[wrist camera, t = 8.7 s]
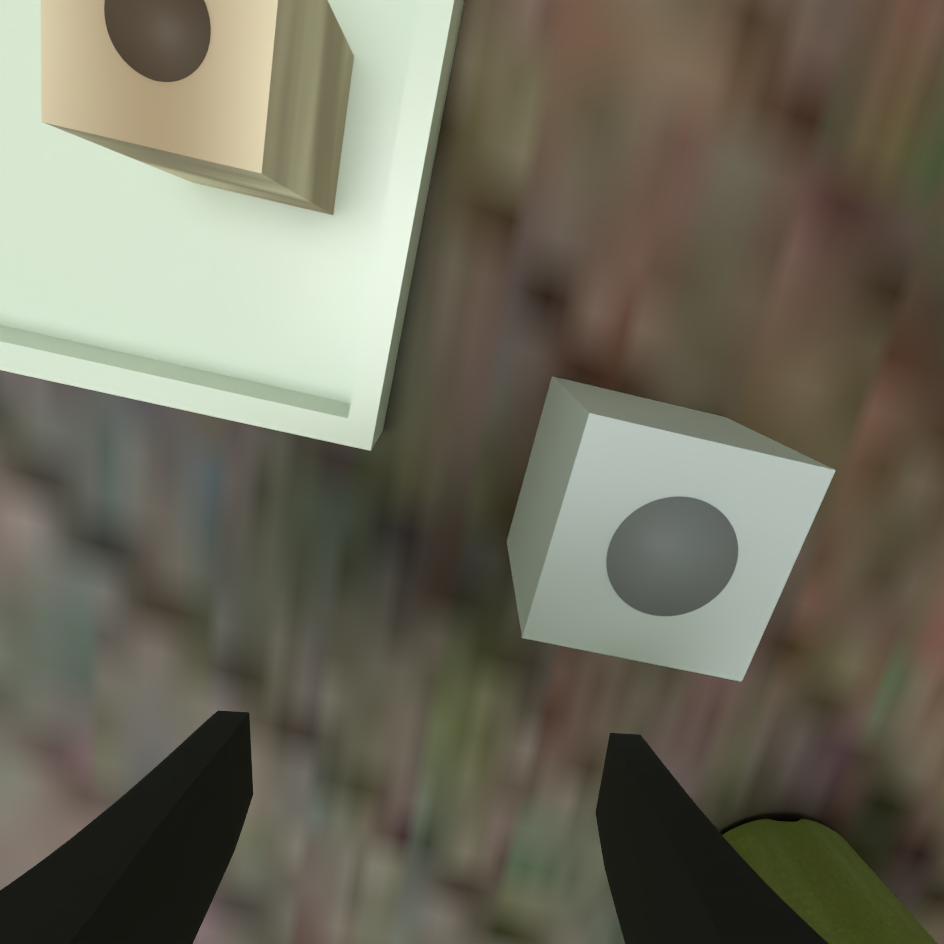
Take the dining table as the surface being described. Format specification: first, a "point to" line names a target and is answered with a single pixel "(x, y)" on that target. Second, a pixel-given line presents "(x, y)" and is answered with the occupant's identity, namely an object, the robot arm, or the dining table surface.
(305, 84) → the small block
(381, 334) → the tray
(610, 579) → the large block
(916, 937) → the plant pot
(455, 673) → the dining table surface
